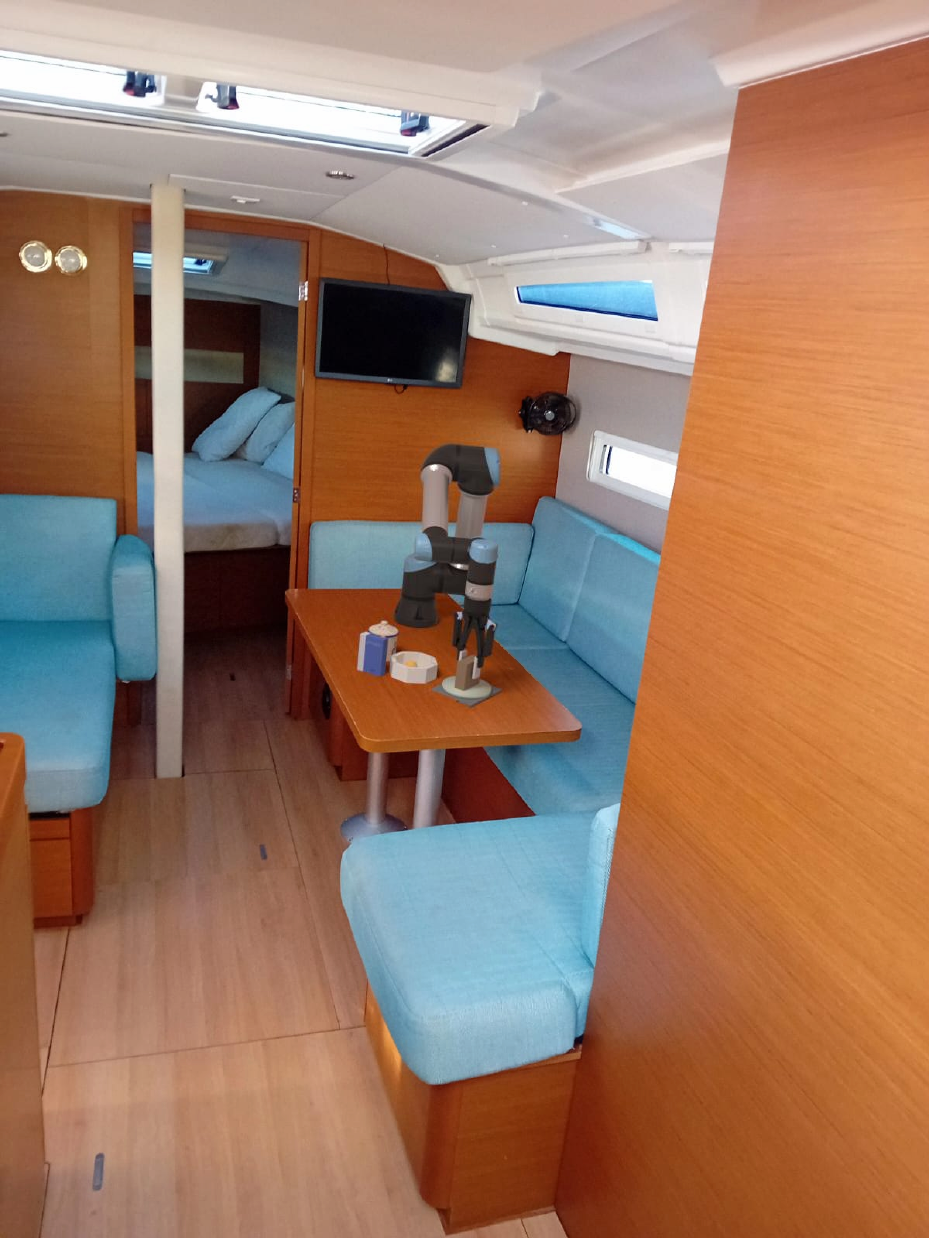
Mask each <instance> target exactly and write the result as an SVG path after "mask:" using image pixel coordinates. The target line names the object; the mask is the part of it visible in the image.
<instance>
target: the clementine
mask: <svg viewBox="0 0 929 1238" xmlns="http://www.w3.org/2000/svg"><path fill="white" fill-rule="evenodd" d="M405 666H408V667H418V665H417V664H416V662H414V661H408V662H406V663H405Z"/></svg>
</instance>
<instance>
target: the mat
mask: <svg viewBox="0 0 929 1238" xmlns="http://www.w3.org/2000/svg"><path fill="white" fill-rule="evenodd" d="M490 686H491V694H490V695H489V696H488V697H486V698H483V699H477V700H468V699H461V698H457V697H454V696H451V695H449V694H447V693H446V692H444V691H443V689H442V683H441V684H438V685H436V686H434V687H433V688H431V689H430V690H431V691H432V692H435V693H439V694H440V695H443V696H446V697H449V698H451V699H453V700H455V702H456V703H460V704H462V705H465V706H467V705H468V706H467V707H469V706H470V707H469V708H472V707H474V706H476V705H478V704H480V703H482V702H484V701H486V700H488V699H491V698H492V697H494V696H496V695H498V694H500V693H501V692H500V691H503V688H499V687H496V686H495V685H494V686H493V685H491V684H490ZM499 692H500V693H499ZM497 693H498V694H497ZM493 695H494V696H493ZM491 696H492V697H491ZM487 698H488V699H487Z"/></svg>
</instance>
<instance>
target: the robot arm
mask: <svg viewBox="0 0 929 1238" xmlns="http://www.w3.org/2000/svg"><path fill="white" fill-rule="evenodd" d="M501 471H502V469H501V454H500V451H499V449H497V448H495V447H494V448H493V447H487V446H479V445H468V444H461V443H460V444H459V443H458V444H457V443H452V442H451V443H445V444H442V445H440V446H438V447H436V448H434V449H433V450H432V451H431V452H429V454H428V455H427V456H426V457H425V459H424V460H423V462H422V466H421V469H420V480H421V481H420V482H421V484H422V485H423V488H422V489H423V490H422V491H423V495H422V516H421V517H422V519H421V533H417V534H416V535H415V537H414V543H413V544H414V545H413V548H414V549H413V553H411V554H410V553H409V554H408V555H407V556H406V557H405V560H404V563H403V568H402V571H403V575H402V583H401V592H400V598H399V600H398V602H397V605H396V607H395V610H394V612H393V620H394V621H395V622H396V623H398V624H400V625H402V626H406V627H412V628H421V629H422V628H431V627H435V626H436V625H438V624H439V623H438V622H439V614H438V608H437V603H436V594H445V595H452V596H453V595H455V596H462V597H464V599H463V604H462V606H463V609H462V611H460V610H459V611H456V612H453V614H452V616H453V621H454V623H453V633H452V642H451V645H452V647H453V648H456V649H457V651H456V652H457V653H456V660H457V662H458V661H459V660H462V659H464V658H466V657H468V649H467V648H468V647H467V643H468V641H469V638H470V635H471V633H472V630H474V634H475V637H476V638H475V639H476V652H477V653H476V654H477V656H476V657H475V659H474V667H473V675H472V679H476V678H478V677H480V678H481V673H480V669H481V670H482V668H483V667H484V665H485V664H484V662H485V659H486V658H488V657H491V656H492V653H493V647H494V639H495V633H496V631H497V628H498V626H499V624H498V623H497V622H495V623H494V622H493V621H492V620H491V618H490V611H491V607H492V597H493V594H494V593H493V591H494V585H495V575H496V569H497V561H498V558H499V554H498V553H499V551H498V550H499V545H498V544H497V543H496V542H495V541H493V540H490V539H487V538H485V537H483V536H482V533H483V527H484V520H485V516H486V511H487V510H486V508H487V504H488V502H487V501H488V498H489V496H490V495H492V493H494V490H495V488H498V487H500V486H501ZM452 483H457V484H456V486H457V488H458V490H459V491H460V495H459V497H460V498H459V505H458V511H457V518H456V525H455V529H454V530H455V532H454V536H449V504H450V503H449V499H450V498H449V497H450V496H449V494H450V493H449V492H450V491H449V489H450V484H452ZM463 620H464V621H463ZM463 623H464V625H463ZM485 633H486V634H485Z"/></svg>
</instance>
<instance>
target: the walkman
mask: <svg viewBox="0 0 929 1238" xmlns="http://www.w3.org/2000/svg"><path fill="white" fill-rule="evenodd" d="M358 645H359V646H358V655H357V656H358V657H357V667H356V669H357V671H360V672H363V673H366V674H371V675H373V676H377V677H382V676H384V675H385V674H386V668H387V667H386V665H387V661H386V658H387V648H388V638H386V637H385V636H383V635H381V636H379V635H376V634H372V633H369V632H368V631H364V632H361V633H360V634H359V644H358Z"/></svg>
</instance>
